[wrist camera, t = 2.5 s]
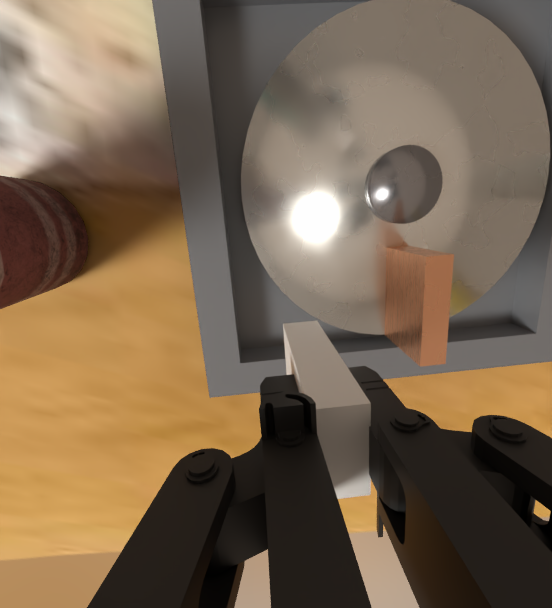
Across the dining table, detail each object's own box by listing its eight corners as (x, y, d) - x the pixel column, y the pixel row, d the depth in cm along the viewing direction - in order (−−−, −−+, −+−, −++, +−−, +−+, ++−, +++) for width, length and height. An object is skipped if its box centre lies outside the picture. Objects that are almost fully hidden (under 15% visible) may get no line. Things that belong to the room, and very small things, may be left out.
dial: (226, 27, 16) (212, -82, 10) (538, 14, 17) (692, -93, 11) (255, 334, 20) (257, 383, 14) (501, 311, 21) (597, 348, 15)
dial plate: (160, -28, 16) (133, -100, 12) (578, -41, 17) (668, -111, 13) (215, 373, 22) (208, 405, 18) (522, 342, 23) (574, 366, 19)
